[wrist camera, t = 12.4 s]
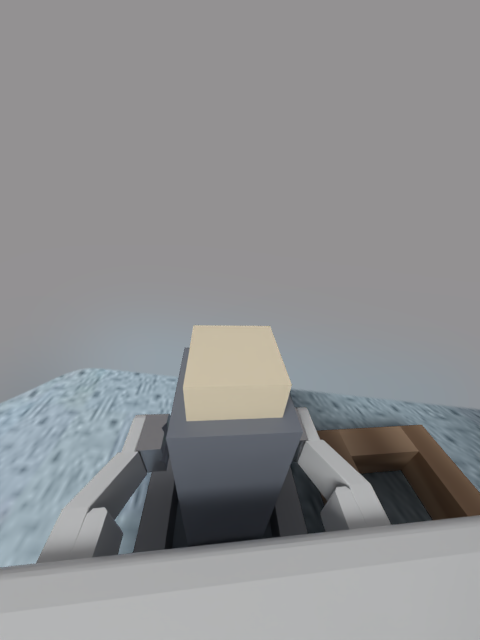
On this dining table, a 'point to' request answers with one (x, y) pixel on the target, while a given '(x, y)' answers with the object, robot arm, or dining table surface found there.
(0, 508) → the dining table surface
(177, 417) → the plug
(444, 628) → the robot arm
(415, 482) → the frame
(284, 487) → the dock
